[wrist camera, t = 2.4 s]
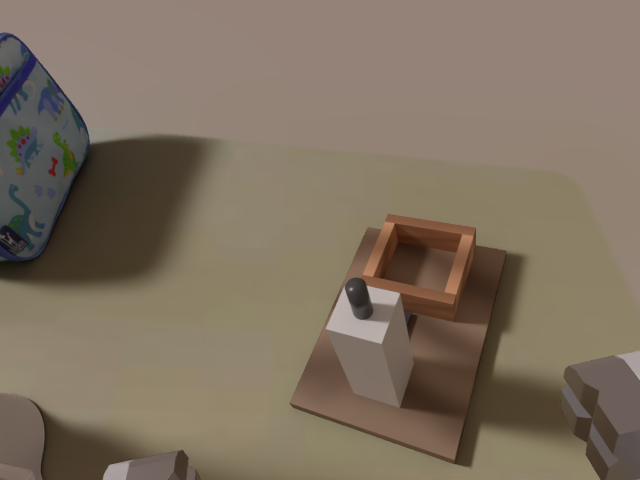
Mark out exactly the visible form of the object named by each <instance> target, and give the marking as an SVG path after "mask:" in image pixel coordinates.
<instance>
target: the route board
mask: <svg viewBox="0 0 640 480" xmlns="http://www.w3.org/2000/svg"><path fill="white" fill-rule="evenodd" d="M505 257H506V251H504V250H498V249H492V248H486V247H480V246H476V228H474V227H467V226H461V225H454V224H448V223H442V222H435V221H429V220H422V219H416V218H410V217H403V216H397V215H390V214H388V216H387V218H386V221H385V223H384V225H383V228H382V230H381V229H375V228H369V227H368V228H367V230H366V232H365V235H364V237H363V239H362V241H361V244H360V246H359V248H358V250H357V253H356V255H355V257H354V259H353V262H352V264H351V266H350V268H349V271H348V273H347V275H346V277H345V280H344V282H343V284H342V286H341V289H340V291H339V293H338V295H337V298H336V300H335V302H334V304H333V307H332V309H331V311H330V313H329V316H328V318H327V320H326V322H325V325H324V327H323V329H322V331H321V334H320V336H319V338H318V340H317V343H316V345H315V347H314V349H313V352H312V354H311V356H310V358H309V361H308V363H307V365H306V367H305V370H304V372H303V374H302V376H301V379H300V381H299V383H298V385H297V388H296V390H295V392H294V394H293V397H292V399H291V401H290V404H291V406H292V407H293V408H296V409H299V410H302V411H304V412H307V413H310V414H313V415H316V416H319V417H322V418H324V419H327V420H330V421H333V422H336V423H339V424H342V425H344V426H347V427H350V428H353V429H356V430H359V431H362V432H364V433H367V434H370V435H373V436H376V437H379V438H382V439H384V440H387V441H390V442H393V443H396V444H399V445H402V446H405V447H407V448H410V449H413V450H416V451H419V452H422V453H425V454H427V455H430V456H433V457H436V458H439V459H442V460H445V461H447V462H450V463H453V464H455V461H456V457H457V453H458V449H459V445H460V441H461V437H462V432H463V428H464V424H465V420H466V416H467V412H468V408H469V404H470V400H471V396H472V392H473V388H474V384H475V380H476V375H477V371H478V367H479V363H480V359H481V355H482V351H483V347H484V343H485V339H486V335H487V331H488V327H489V323H490V318H491V314H492V310H493V306H494V302H495V298H496V294H497V290H498V286H499V282H500V278H501V274H502V270H503V266H504V261H505ZM355 277H358V278H362V279H363V280H364V281H365V282H366V285H367V286H370V287H375V288H379V289H384V290H388V291H393V292H397V293H400V295H401V300H402V305H403V310H404V316H405V321H406V326H407V331H408V336H409V341H410V346H411V352H412V357H413V362H414V365H413V368H412V371H411V374H410V377H409V380H408V384H407V387H406V390H405V393H404V396H403V399H402V402H401V405H400V408H399V407H395V406H392V405H389V404H386V403H383V402H380V401H377V400H373V399H370V398H367V397H364V396H361V395H358V394H355V393H354V392H353V390H352V388H351V386H350V383H349V381H348V379H347V377H346V374H345V372H344V370H343V367H342V365H341V363H340V361H339V358H338V356H337V354H336V352H335V349H334V347H333V345H332V343H331V340H330V338H329V336H328V333H327V331H326V327H327V324H328V322H329V320H330V318H331V315H332V313H333V311H334V309H335V306H336V304H337V302H338V299H339V297H340V295H341V293H342V290H343V288H344V286H345V284H346V281H348V280H350V279H352V278H355Z"/></svg>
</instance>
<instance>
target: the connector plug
mask: <svg viewBox="0 0 640 480" xmlns="http://www.w3.org/2000/svg"><path fill="white" fill-rule="evenodd" d="M326 331H327V333H328V336H329V338H330V340H331V343H332V345H333V347H334V349H335V352H336V354H337V356H338V358H339V361H340V363H341V365H342V367H343V370H344V372H345V374H346V377H347V379H348V381H349V383H350V386H351V388H352V390H353V392H354V393H355V394H358V395H361V396H364V397H367V398H370V399H373V400H377V401H380V402H383V403H386V404H389V405H392V406H395V407H399V408H400V405H401V402H402V399H403V396H404V393H405V390H406V387H407V384H408V380H409V377H410V374H411V371H412V368H413V365H414V362H413V357H412V352H411V346H410V341H409V336H408V331H407V326H406V321H405V316H404V310H403V305H402V300H401V295H400V293H397V292H393V291H388V290H384V289H379V288H375V287H370V286H367V285H366V282H365V281H364V280H363V279H362V278H358V277H355V278H352V279H350V280H348V281H346V284H345V286H344V288H343V290H342V293H341V295H340V297H339V299H338V302H337V304H336V306H335V309H334V311H333V313H332V315H331V318H330V320H329V322H328V324H327V327H326Z"/></svg>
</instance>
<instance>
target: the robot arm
mask: <svg viewBox="0 0 640 480" xmlns="http://www.w3.org/2000/svg"><path fill="white" fill-rule="evenodd" d="M564 379H565V380H566V382H567V385H566V386H565V387H564V388H563V389H562V390H561V399H560V401H561V406H562V411H563V414H564V417H565V419H566V421H567V424H568V425H569V427H570V429H571V431H572V432H573V434H574V435H575V436H577V437H578V438H580V439H582V440H583V441H585V442H586V443H587V447H586V454H585V455H586V456H587V458H588V460H589V461H590V463H591V465H592V466H593V468H594V470H595V471H596V473H597V475H598V476H599V478H600V480H637V479H640V351H633V352H629V353H624V354H620V355H616V356H614V355H613V356H608V357H604V358H600V359H596V360H591V361H587V362H583V363H579V364H574V365H570V366H568V367H567V368H566V369H565V371H564ZM44 441H45V430H44V423H43V419H42V416H41V414H40V412H39V410H38V408H37V407H36V406H35V405H34V404H33V403H32V402H31V401H30V400H28V399H27V398H25V397H23V396H20V395H15V394H6V393H1V392H0V480H43V479H42V475H41V460H42V455H43V449H44ZM103 480H201V479H200V476H199V474H198V473H197V471H196V469H194V468H191V467H189V466H188V457H187V455H186V454H185V453H184V451H183V450H179V451H174V452H169V453H164V454H160V455H155V456H150V457H145V458H140V459H134V460H129V461H125V462H120V463H116V464H111V465H109V467H108V468H107V470H106V472H105V474H104V476H103Z"/></svg>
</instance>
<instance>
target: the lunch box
mask: <svg viewBox="0 0 640 480" xmlns="http://www.w3.org/2000/svg"><path fill="white" fill-rule="evenodd" d="M89 145H90V141H89V134H88V130H87V127H86V124H85V122H84V120H83V118H82V117H81V115H80V114H79V112H78V111H77V109H76V108H75V106H74V105H73V104H72V102H71V101H70V100H69V99H68V98H67V96H66V95H65V94H64V92H63V91H62V89H61V88H60V87H59V86H58V84H57V83H56V82H55V80H54V79H53V78H52V77H51V75H50V74H49V73H48V71H47V70H46V69H45V68H44V67H43V65H42V64H41V63H40V62H39V61H38V59H37V58H36V57H35V56H34V55H33V54H32V52H31V51H30V50H29V48H28V47H27V46H26V45H25V44H24V43H23V42H22V41H21V40H20V39H19V38H17V37H16V36H14V35H13V34H9V33H0V261H7V260H11V261H15V262H21V261H26V260H30V259H34V258H35V257H37V256H39V255H40V254H41V253H42V251H43V250H44V248H45V247H46V244H47V241H48V239H49V236H50V233H51V231H52V228H53V226H54V224H55V222H56V220H57V218H58V215H59V213H60V211H61V209H62V207H63V205H64V202H65V200H66V197H67V195H68V194H69V190H70V187H71V184H72V182H73V180H74V178H75V176H76V175H77V173H78V171H79V169H80V168H81V166H82V164H83V162H84V161H85V159H86V157H87V154H88V151H89Z"/></svg>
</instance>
